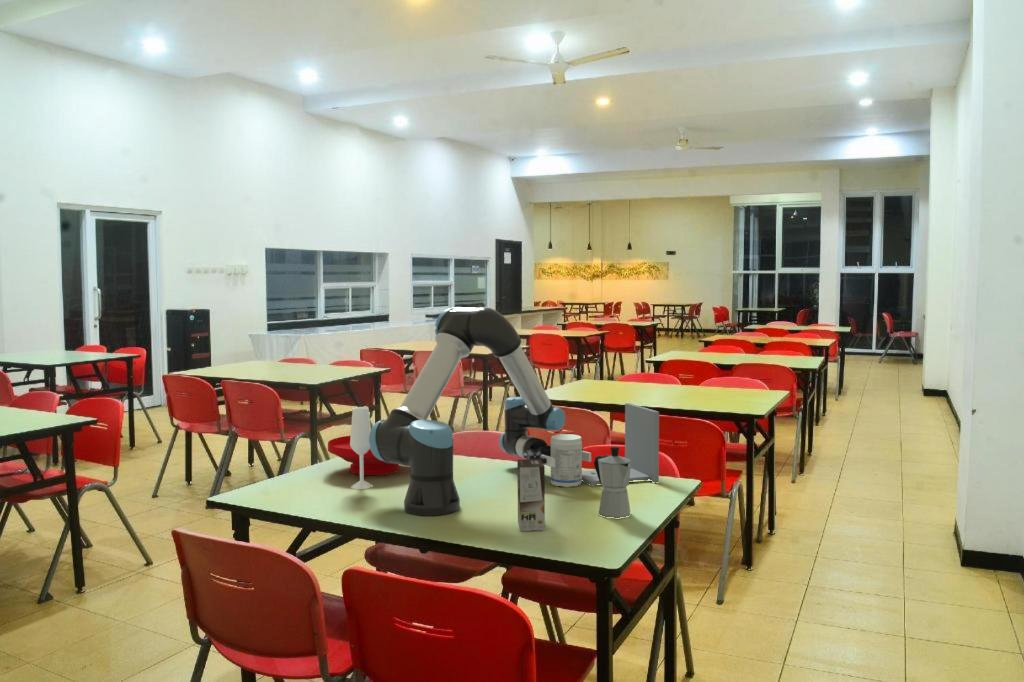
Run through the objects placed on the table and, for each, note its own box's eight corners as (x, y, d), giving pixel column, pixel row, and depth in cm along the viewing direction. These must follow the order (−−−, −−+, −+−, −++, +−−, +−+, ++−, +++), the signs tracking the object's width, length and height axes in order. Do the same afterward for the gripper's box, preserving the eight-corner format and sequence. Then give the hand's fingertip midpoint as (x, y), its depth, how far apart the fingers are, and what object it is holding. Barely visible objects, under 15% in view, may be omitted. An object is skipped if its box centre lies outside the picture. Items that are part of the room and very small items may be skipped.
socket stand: (658, 482, 238) (659, 411, 237) (595, 488, 232) (595, 415, 230) (629, 469, 257) (629, 403, 256) (569, 474, 251) (569, 406, 249)
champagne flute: (377, 486, 236) (376, 408, 234) (357, 490, 231) (356, 410, 230) (366, 482, 241) (365, 405, 239) (346, 486, 237) (345, 407, 235)
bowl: (332, 484, 239) (332, 452, 238) (324, 464, 268) (323, 435, 267) (430, 476, 249) (429, 445, 248) (411, 458, 277) (411, 430, 277)
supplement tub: (551, 480, 243) (551, 433, 242) (581, 480, 242) (581, 433, 241) (550, 487, 233) (549, 439, 232) (581, 488, 232) (581, 439, 231)
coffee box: (545, 531, 190) (545, 466, 189) (519, 531, 190) (519, 466, 189) (541, 520, 199) (541, 458, 199) (516, 521, 199) (516, 459, 198)
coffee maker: (643, 518, 201) (643, 449, 200) (616, 523, 197) (616, 452, 196) (608, 504, 214) (608, 439, 213) (582, 509, 210) (582, 443, 208)
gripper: (563, 455, 259) (604, 467, 241) (500, 464, 245) (538, 477, 228) (563, 433, 259) (604, 443, 241) (499, 441, 245) (538, 452, 227)
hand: (572, 460), depth 234 cm, fingers open, 13 cm apart
